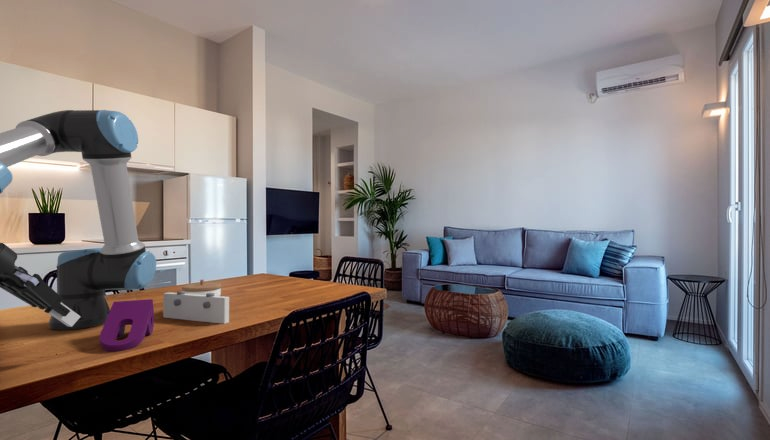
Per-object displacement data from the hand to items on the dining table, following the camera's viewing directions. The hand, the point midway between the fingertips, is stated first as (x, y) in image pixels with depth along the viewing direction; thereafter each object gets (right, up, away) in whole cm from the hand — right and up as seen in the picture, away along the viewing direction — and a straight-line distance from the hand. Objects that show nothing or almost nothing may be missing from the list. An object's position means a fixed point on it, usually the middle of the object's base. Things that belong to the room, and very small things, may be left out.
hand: (74, 321), depth 89 cm
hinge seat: (+11, -9, +34) cm, 37 cm away
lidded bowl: (+7, -9, +47) cm, 49 cm away
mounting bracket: (+4, -9, +12) cm, 16 cm away
